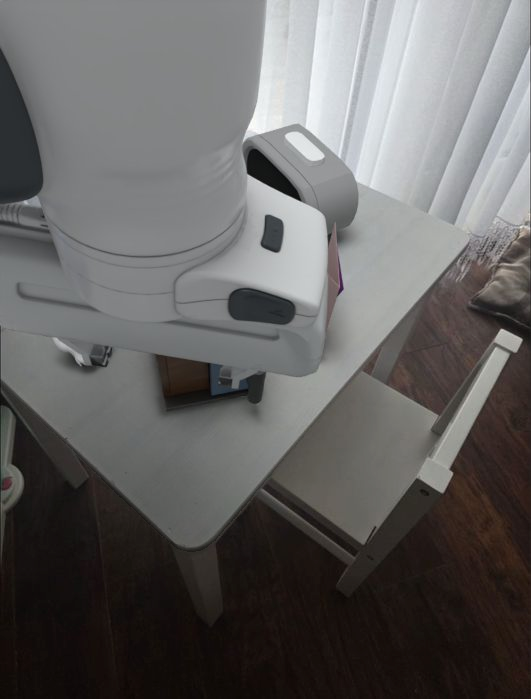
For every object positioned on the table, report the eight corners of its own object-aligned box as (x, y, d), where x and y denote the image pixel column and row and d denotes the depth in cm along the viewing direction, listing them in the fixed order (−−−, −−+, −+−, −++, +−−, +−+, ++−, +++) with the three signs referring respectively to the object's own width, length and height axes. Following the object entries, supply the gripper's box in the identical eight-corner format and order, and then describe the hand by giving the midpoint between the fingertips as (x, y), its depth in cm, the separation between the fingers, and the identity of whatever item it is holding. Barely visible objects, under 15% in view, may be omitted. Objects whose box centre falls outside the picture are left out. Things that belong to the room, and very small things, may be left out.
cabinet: (256, 393, 65) (265, 325, 53) (166, 411, 63) (154, 344, 51) (232, 313, 73) (235, 237, 60) (150, 327, 70) (136, 250, 58)
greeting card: (324, 358, 70) (347, 288, 57) (271, 354, 69) (283, 283, 57) (321, 297, 76) (341, 222, 64) (273, 293, 76) (285, 217, 63)
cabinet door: (264, 412, 63) (273, 358, 52) (218, 422, 61) (218, 369, 51) (254, 380, 65) (261, 323, 55) (210, 389, 64) (208, 332, 54)
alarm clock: (237, 189, 89) (240, 119, 78) (280, 175, 92) (288, 106, 81) (302, 262, 80) (315, 194, 69) (347, 243, 83) (367, 175, 72)
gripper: (-102, 239, 22) (2, 383, 33) (353, 316, 22) (298, 430, 34) (-39, 149, 25) (36, 309, 37) (355, 220, 26) (305, 354, 37)
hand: (165, 368), depth 35 cm, fingers open, 8 cm apart
